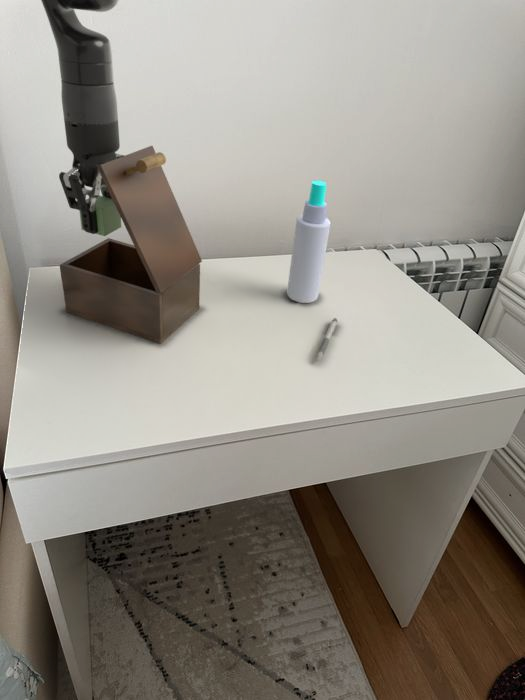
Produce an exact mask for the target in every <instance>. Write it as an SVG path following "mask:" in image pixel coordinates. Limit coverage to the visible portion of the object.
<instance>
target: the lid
mask: <svg viewBox="0 0 525 700" xmlns="http://www.w3.org/2000/svg"><path fill="white" fill-rule="evenodd" d="M166 161H167V158H166V155H165V154H164V153H163V152H160V151H158V152H156V150H155V148H154V145H150V146H146V147H144V148H141V149H139V150H136V151H133V152H130V153H128V154H126V155H125V156H123V157H120V158H117V159H114V160H112V161H109V162H106V163H104V164H101V165H99V166H97V168H98V170H99V172H100V174H101V176H102V179H103V181H104V183H105V185H106V187H107V189H108V191H109V193H110V195H111V198H112V200H113V202H114V204H115V206H116V208H117V210H118V212H119V214H120V216H121V222H122V223H123V225H124V227H125V229H126V231H127V233H128V236H129V237H130V240H131V242H132V245H134V246H135V248H136V250H137V252H138V254H139V256H140V259H141V261H142V263H143V265H144V267H145V269H146V271H147V273H148V275H149V277H150V280H151V282H152V284H153V286H154V288H155V290H156V292H157V294H159V293H162V292H163V291H164V290H166V289H167V288H168V287H169V286H171V285H172V284H173V283H175V282H176V281H177V280H179V279H180V278H181V277H182V276H184V275H185V274H186V273H188V272H189V271H190V270H191V269H193V268H194V267H195V266H197V265H198V264H201V263H202V262H203V260H202V257H201V255H200V252H199V250H198V249H197V246H196V243H195V240H194V239H193V237H192V234H191V232H190V230H189V227H188V225H187V223H186V221H185V218H184V216H183V214H182V213H183V212H182V211H181V209H180V206H179V204H178V201H177V199H176V197H175V195H174V192H173V189H172V187H171V185H170V183H169V181H168V178H167V176H166V173H165V171H164V169H163V165H165V164H166Z"/></svg>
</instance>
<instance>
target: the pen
mask: <svg viewBox="0 0 525 700" xmlns="http://www.w3.org/2000/svg"><path fill="white" fill-rule="evenodd" d="M337 323H338V319H337V317H334V318H333V319H332V320H331V322H330V324H329V327H328V329H327V332H326V334H325V336H324V338H323V340H322V342H321V344H320V346H319V349H318V351H317V353H316V361H317V362H319V361H321V359H322V357H323V356H324V354H325V352H326V349H327V348H328V345H329V344H330V340H331V338H332V335H333V333H334V332H335V329H336V327H337Z"/></svg>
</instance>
